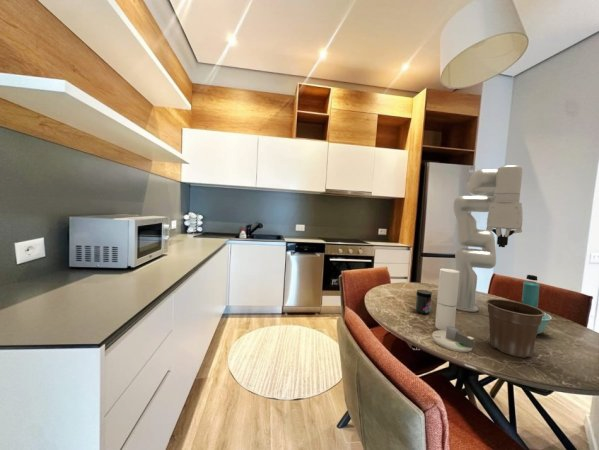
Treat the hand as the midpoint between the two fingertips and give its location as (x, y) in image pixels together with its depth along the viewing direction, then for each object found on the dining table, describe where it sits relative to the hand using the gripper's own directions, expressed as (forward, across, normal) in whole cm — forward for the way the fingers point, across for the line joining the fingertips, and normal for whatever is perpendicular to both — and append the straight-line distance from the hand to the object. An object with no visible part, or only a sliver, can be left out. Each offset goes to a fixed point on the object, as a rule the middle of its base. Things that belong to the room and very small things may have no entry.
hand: (501, 246), depth 96 cm
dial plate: (+37, -10, -16) cm, 41 cm away
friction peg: (+35, -7, -16) cm, 40 cm away
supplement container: (+37, -29, +6) cm, 48 cm away
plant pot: (+37, +5, -2) cm, 38 cm away
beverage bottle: (+37, +6, +52) cm, 64 cm away
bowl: (+37, +7, +24) cm, 45 cm away
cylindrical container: (+37, -16, -4) cm, 41 cm away
